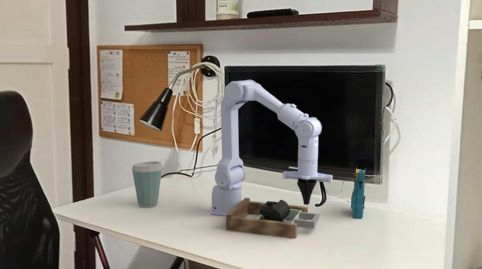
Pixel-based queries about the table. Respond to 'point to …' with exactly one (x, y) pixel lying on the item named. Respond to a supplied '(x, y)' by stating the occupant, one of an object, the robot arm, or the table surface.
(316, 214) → the pull tray
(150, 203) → the disposable coffee cup
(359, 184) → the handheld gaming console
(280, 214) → the end cap
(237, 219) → the brown wooden frame
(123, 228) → the table surface
